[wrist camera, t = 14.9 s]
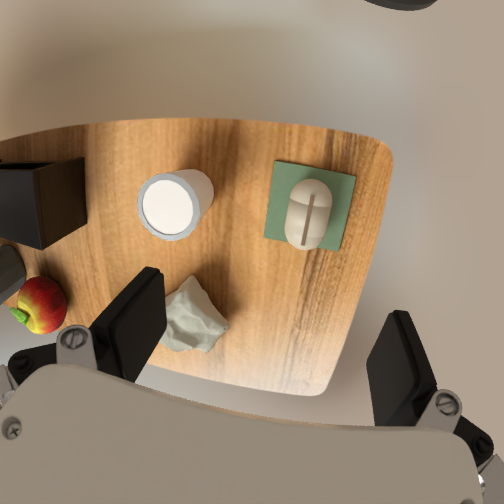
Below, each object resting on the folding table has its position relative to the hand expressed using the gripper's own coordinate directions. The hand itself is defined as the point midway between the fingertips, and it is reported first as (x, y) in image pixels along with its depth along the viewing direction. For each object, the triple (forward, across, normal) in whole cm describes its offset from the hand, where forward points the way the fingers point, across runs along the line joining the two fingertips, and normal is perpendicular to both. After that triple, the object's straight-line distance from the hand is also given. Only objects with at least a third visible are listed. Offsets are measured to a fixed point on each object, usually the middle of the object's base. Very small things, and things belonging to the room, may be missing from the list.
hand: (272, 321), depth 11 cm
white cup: (+22, +12, +2) cm, 25 cm away
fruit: (+22, +41, +24) cm, 52 cm away
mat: (+22, -2, +1) cm, 22 cm away
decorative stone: (+22, +10, +18) cm, 31 cm away
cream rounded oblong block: (+22, -2, +2) cm, 22 cm away
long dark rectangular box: (+22, +41, +3) cm, 47 cm away
